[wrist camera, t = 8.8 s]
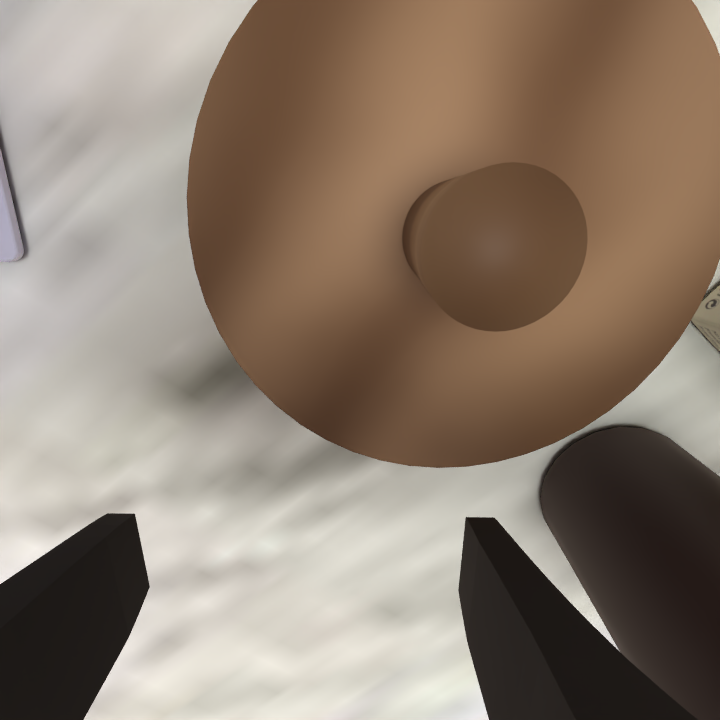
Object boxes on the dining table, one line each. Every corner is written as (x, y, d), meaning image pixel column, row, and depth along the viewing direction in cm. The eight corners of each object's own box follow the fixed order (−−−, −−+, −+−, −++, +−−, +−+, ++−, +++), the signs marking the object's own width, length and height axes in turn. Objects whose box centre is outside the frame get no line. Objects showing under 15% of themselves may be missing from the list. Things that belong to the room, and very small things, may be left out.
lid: (143, 360, 14) (25, 441, 9) (302, -223, 10) (235, -674, 5) (540, 510, 16) (618, 646, 11) (834, 77, 12) (1195, -22, 6)
